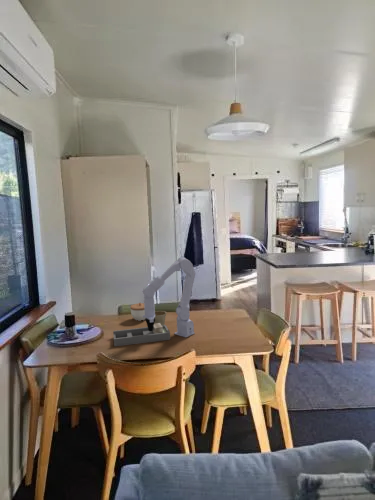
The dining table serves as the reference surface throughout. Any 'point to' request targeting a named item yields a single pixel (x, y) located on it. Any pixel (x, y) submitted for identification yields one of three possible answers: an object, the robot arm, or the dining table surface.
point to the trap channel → (144, 336)
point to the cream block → (157, 328)
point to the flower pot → (160, 317)
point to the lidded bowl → (138, 311)
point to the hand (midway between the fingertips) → (150, 330)
